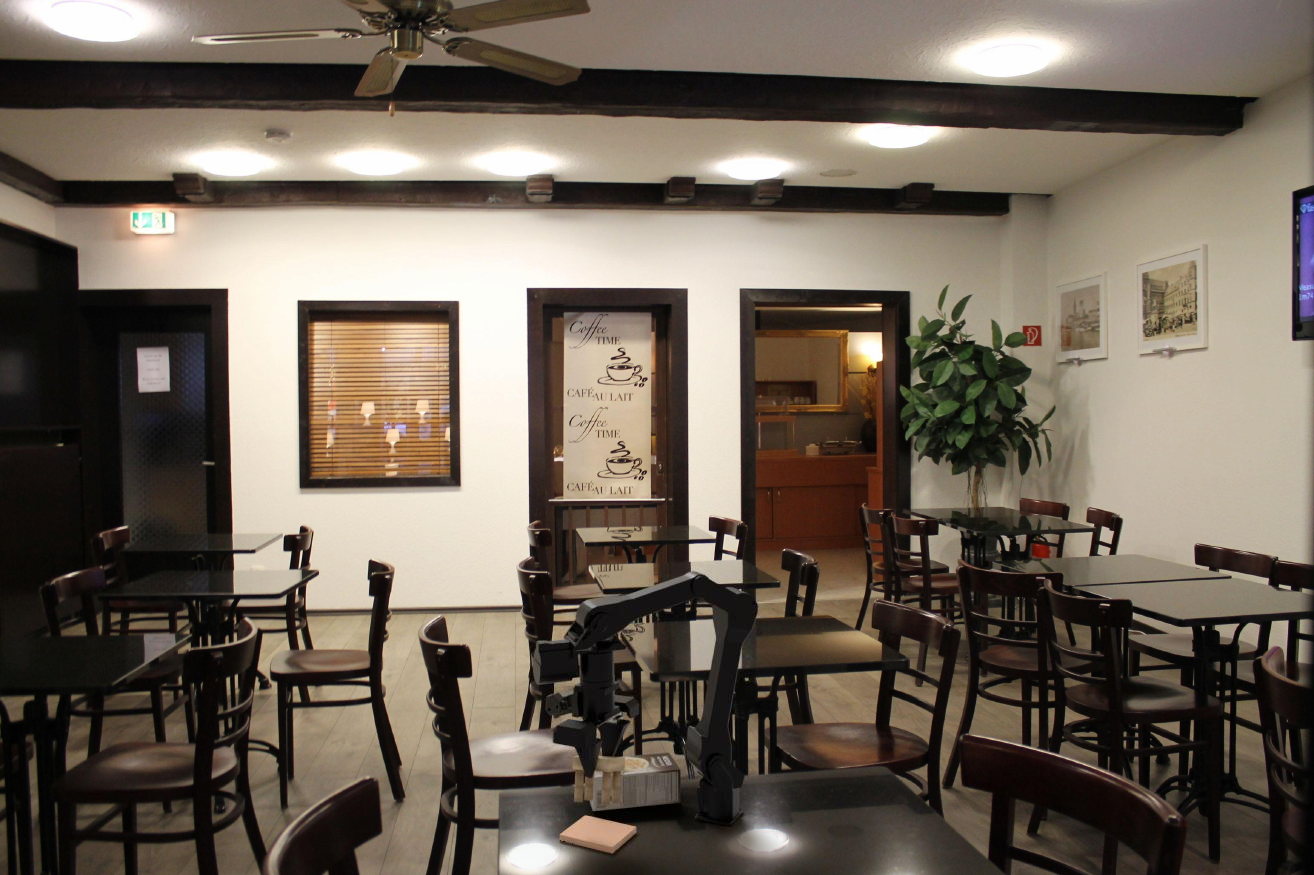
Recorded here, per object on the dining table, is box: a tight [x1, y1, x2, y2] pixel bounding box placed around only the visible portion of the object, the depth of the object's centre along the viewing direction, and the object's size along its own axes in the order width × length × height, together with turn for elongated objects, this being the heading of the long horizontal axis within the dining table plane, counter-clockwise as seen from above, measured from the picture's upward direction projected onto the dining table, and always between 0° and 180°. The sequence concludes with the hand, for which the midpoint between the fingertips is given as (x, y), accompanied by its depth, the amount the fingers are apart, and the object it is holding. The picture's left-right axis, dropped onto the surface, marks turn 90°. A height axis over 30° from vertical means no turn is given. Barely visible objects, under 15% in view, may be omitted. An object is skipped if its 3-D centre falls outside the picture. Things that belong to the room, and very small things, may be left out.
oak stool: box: [572, 755, 625, 805], centre depth 147 cm, size 7×5×7 cm
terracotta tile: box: [559, 815, 637, 854], centre depth 148 cm, size 10×8×1 cm
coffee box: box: [588, 752, 682, 812], centre depth 163 cm, size 9×6×16 cm
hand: (598, 771), depth 147 cm, fingers closed on oak stool, 5 cm apart
